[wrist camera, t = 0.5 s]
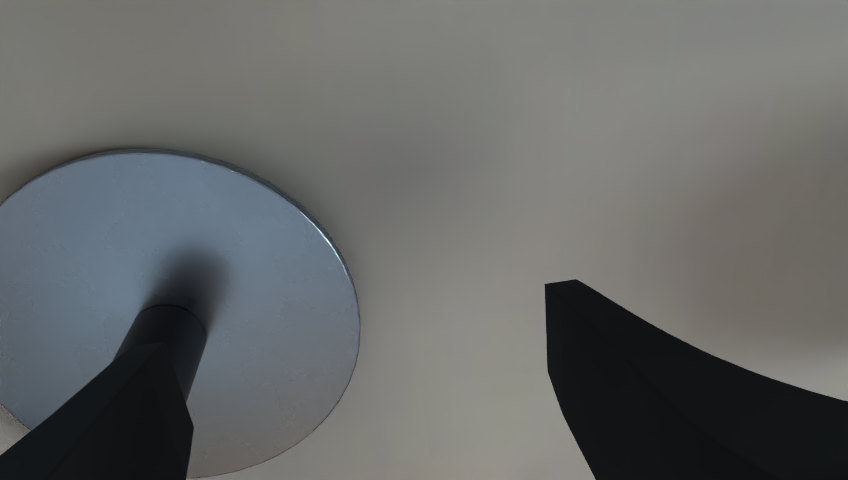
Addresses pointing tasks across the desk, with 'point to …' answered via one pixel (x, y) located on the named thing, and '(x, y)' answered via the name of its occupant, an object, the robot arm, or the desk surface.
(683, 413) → the robot arm
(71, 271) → the lid
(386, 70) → the desk surface
